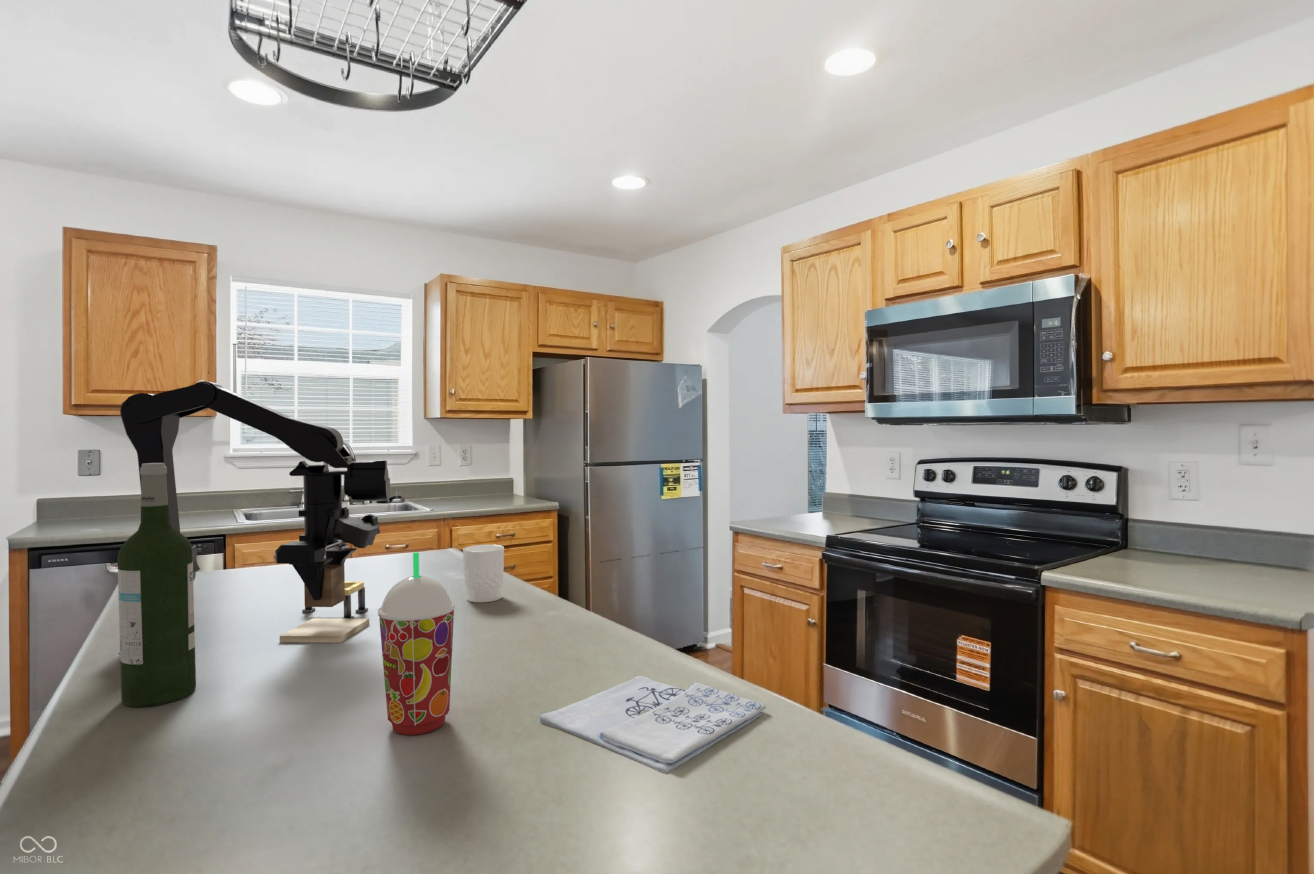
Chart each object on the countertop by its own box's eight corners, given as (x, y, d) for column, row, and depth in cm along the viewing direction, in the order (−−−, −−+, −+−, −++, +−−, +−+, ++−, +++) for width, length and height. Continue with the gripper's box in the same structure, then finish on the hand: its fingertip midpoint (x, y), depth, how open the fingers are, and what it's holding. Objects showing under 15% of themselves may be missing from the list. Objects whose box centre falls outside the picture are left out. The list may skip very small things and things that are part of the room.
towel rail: (349, 621, 126) (349, 590, 125) (285, 621, 126) (284, 590, 126) (368, 610, 133) (367, 581, 133) (306, 610, 133) (306, 581, 133)
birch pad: (341, 642, 114) (341, 636, 114) (279, 642, 114) (279, 635, 114) (369, 624, 124) (369, 618, 124) (312, 624, 124) (312, 618, 124)
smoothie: (380, 716, 85) (377, 549, 85) (453, 705, 88) (450, 544, 88) (379, 746, 77) (376, 562, 77) (459, 733, 80) (456, 556, 80)
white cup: (513, 596, 142) (512, 546, 142) (484, 605, 136) (483, 553, 135) (484, 591, 146) (484, 543, 146) (455, 600, 140) (454, 549, 140)
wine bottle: (210, 687, 95) (205, 461, 94) (154, 710, 87) (147, 465, 87) (164, 681, 97) (158, 461, 96) (105, 704, 90) (98, 465, 89)
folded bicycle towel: (667, 780, 71) (667, 759, 71) (535, 725, 84) (534, 707, 84) (769, 717, 85) (769, 699, 85) (642, 678, 98) (642, 663, 98)
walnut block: (331, 607, 116) (331, 570, 116) (304, 606, 117) (303, 570, 116) (344, 600, 121) (344, 564, 121) (318, 599, 121) (318, 564, 121)
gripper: (343, 509, 109) (345, 611, 109) (394, 496, 127) (395, 583, 128) (272, 509, 109) (274, 611, 110) (332, 496, 128) (334, 583, 128)
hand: (324, 596), depth 119 cm, fingers closed on walnut block, 4 cm apart
